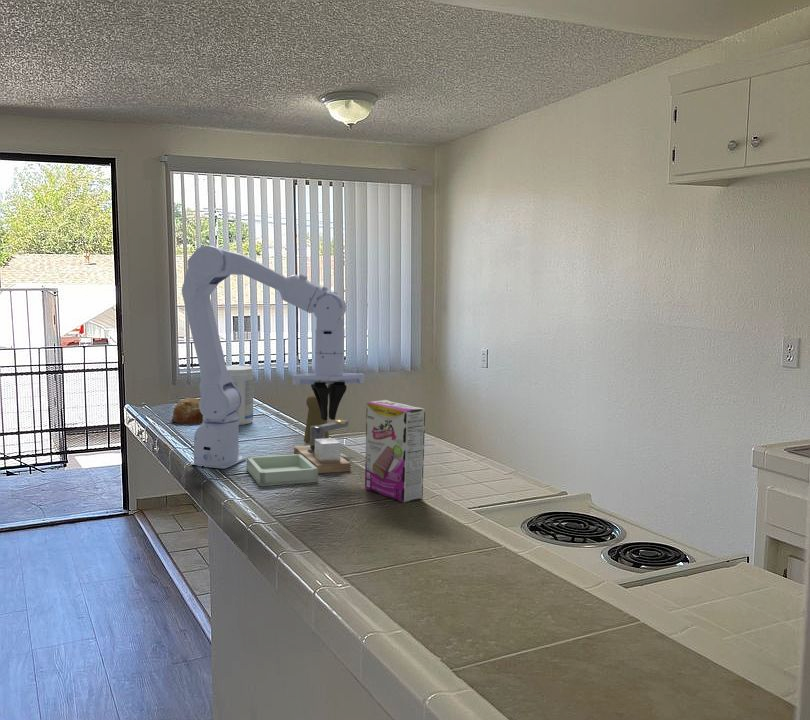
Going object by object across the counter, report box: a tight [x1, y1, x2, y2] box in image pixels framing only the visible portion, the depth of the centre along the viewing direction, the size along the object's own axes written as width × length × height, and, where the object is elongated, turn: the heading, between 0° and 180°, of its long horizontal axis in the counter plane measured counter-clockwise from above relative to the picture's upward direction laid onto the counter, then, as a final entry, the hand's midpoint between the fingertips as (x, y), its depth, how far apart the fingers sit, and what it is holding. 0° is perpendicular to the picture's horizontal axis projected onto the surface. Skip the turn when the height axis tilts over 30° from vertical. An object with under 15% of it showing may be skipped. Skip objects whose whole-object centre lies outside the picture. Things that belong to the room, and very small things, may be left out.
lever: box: [309, 419, 349, 450], centre depth 165 cm, size 12×3×5 cm, turn 149°
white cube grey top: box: [314, 437, 342, 463], centre depth 155 cm, size 5×4×4 cm
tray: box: [246, 453, 319, 487], centre depth 147 cm, size 13×11×2 cm
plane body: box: [293, 445, 352, 474], centre depth 159 cm, size 18×7×2 cm, turn 23°
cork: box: [303, 394, 330, 443], centre depth 180 cm, size 6×6×11 cm
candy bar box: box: [364, 399, 426, 504], centre depth 136 cm, size 11×5×16 cm, turn 41°
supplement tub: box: [226, 365, 254, 426], centre depth 199 cm, size 10×10×15 cm
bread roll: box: [171, 397, 203, 425], centre depth 201 cm, size 10×10×8 cm
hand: (328, 419), depth 154 cm, fingers closed
